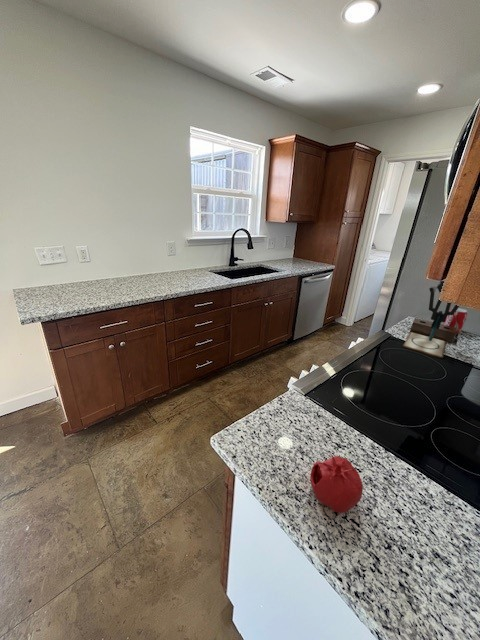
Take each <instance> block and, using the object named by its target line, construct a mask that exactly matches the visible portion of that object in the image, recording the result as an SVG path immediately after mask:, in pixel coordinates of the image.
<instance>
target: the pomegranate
mask: <svg viewBox="0 0 480 640" xmlns="http://www.w3.org/2000/svg"><path fill="white" fill-rule="evenodd" d="M329 454H330V456H331V458H327V459H326V460H325V461H318V460H317V461H315V463H314V464H313V465H312V467H311V469H310V477H309V478H310V484H311V489H312V492H313V495H314V497H315V498H316V500H317V501H319V502H320V504H322V505H323V506H326V507H329V508H330V510H332V511H333V512H334V513H338V514H345V513H347V512H349V511H351V509H353V508H354V507H355V506H356V505H357V504H359V502H360V501H361V500H362V497H363V490H364V489H363V488H364V486H363V482H362V479H361V475H360V474H359V473H360V471H358V470H357V469H356V468H355V467H354V466H353V465H352V463H351V462H350V460H349V459H348V457H342V456H339V455H336V456H334V454H332V452H329Z"/></svg>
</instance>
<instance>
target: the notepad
mask: <svg viewBox="0 0 480 640" xmlns="http://www.w3.org/2000/svg"><path fill="white" fill-rule="evenodd" d="M446 343H447V342H446V341H443V340H439V339H435V338H433V339H432V341H429V337H428V336H424V335H420V334H417V333H413V332H410V331H409V334H408V335H407V336H406V339H405V341H404V343H403V344H402V348H405V349H408V350H411V351H416V352H419V353H421V354H426V355H428V356H431V357H435V358H439V359H443V358H444V352H445V349H446V345H447V344H446Z"/></svg>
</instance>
